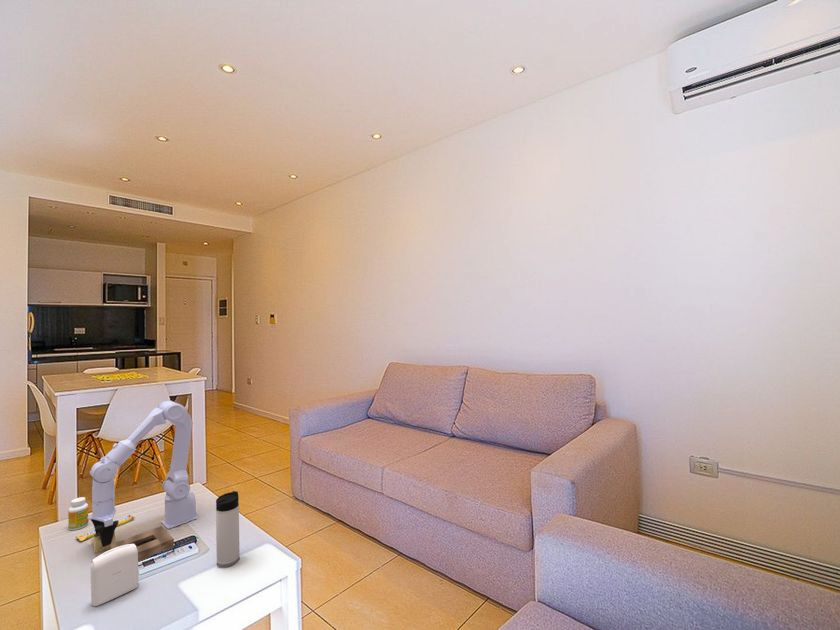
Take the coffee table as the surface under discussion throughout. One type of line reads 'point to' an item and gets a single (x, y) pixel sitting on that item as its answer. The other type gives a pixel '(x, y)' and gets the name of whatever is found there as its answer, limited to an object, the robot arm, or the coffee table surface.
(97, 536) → the tan flat rectangular block
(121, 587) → the photo printer
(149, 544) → the walnut coin box
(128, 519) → the candy bar
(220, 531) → the travel mug
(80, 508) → the supplement bottle
